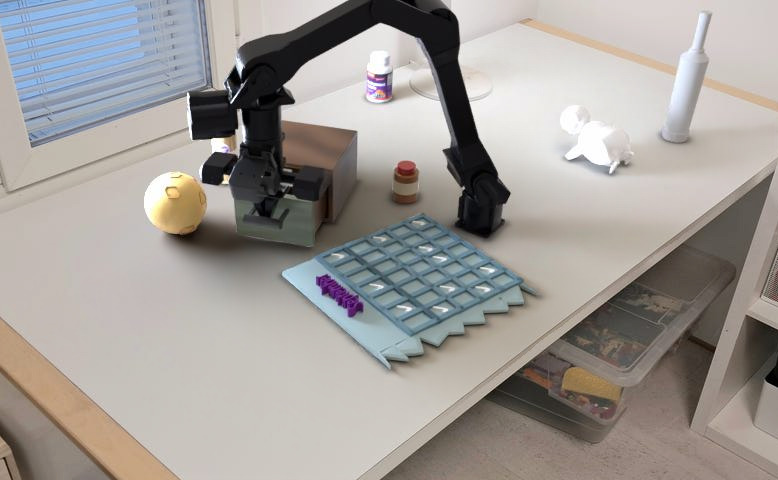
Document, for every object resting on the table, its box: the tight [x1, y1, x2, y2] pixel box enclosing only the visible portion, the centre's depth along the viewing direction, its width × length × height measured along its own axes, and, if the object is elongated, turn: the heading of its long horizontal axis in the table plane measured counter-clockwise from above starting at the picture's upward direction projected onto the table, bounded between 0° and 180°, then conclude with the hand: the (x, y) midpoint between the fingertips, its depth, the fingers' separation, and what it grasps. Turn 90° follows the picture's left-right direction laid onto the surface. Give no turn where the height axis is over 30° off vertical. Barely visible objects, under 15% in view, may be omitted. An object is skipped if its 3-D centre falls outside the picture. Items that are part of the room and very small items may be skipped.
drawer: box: [233, 167, 329, 248], centre depth 141 cm, size 18×13×8 cm
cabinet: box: [282, 119, 359, 224], centre depth 150 cm, size 15×14×10 cm
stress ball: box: [144, 171, 208, 236], centre depth 141 cm, size 10×10×10 cm
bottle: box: [661, 9, 713, 144], centre depth 166 cm, size 5×5×25 cm
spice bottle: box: [391, 160, 420, 204], centre depth 152 cm, size 4×4×6 cm
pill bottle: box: [366, 49, 394, 104], centre depth 183 cm, size 5×5×10 cm
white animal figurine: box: [560, 104, 635, 174], centre depth 165 cm, size 9×8×15 cm
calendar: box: [281, 212, 539, 370], centre depth 132 cm, size 27×28×2 cm
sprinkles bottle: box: [211, 130, 239, 185], centre depth 153 cm, size 5×5×13 cm
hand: (267, 223), depth 135 cm, fingers closed, pressing on drawer
